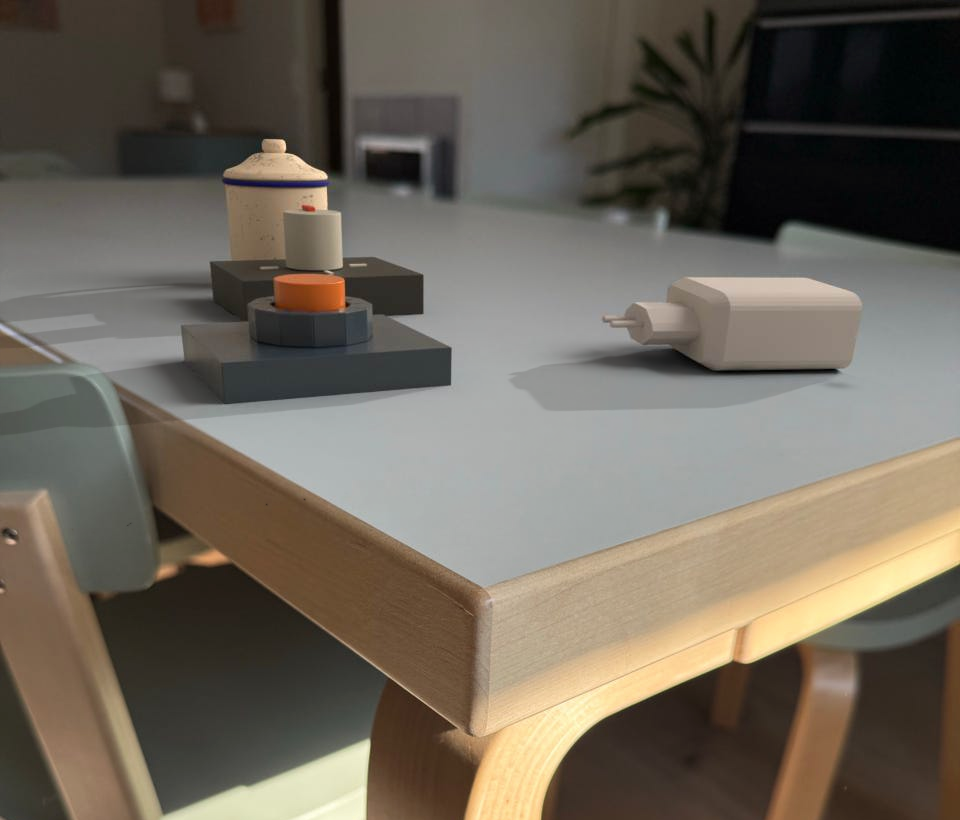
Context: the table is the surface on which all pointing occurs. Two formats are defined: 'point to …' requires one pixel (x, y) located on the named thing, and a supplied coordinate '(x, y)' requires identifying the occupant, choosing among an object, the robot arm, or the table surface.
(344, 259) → the kettle base
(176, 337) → the table surface
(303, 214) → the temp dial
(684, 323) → the charger
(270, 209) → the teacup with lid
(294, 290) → the power button
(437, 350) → the switch block
